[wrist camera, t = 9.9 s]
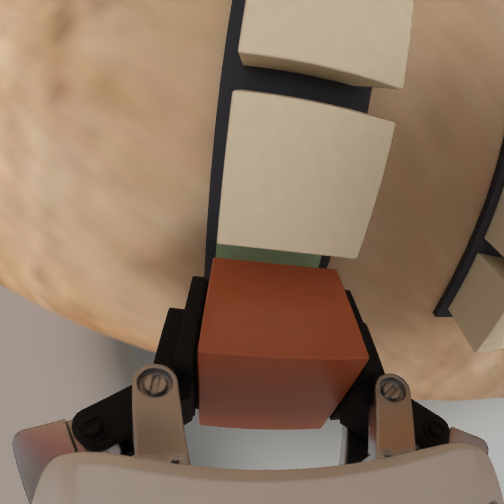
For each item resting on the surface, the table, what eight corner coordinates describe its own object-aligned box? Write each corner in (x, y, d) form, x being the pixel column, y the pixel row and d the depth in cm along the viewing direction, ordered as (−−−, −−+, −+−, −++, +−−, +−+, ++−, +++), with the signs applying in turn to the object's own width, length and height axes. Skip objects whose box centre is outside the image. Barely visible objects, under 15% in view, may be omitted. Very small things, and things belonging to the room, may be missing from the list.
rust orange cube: (213, 256, 10) (197, 350, 7) (337, 268, 11) (370, 358, 7) (208, 341, 13) (199, 425, 9) (307, 348, 13) (320, 428, 9)
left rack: (241, -42, 7) (236, -95, 3) (381, -11, 8) (436, -40, 4) (204, 298, 16) (192, 365, 12) (311, 308, 16) (325, 374, 13)
